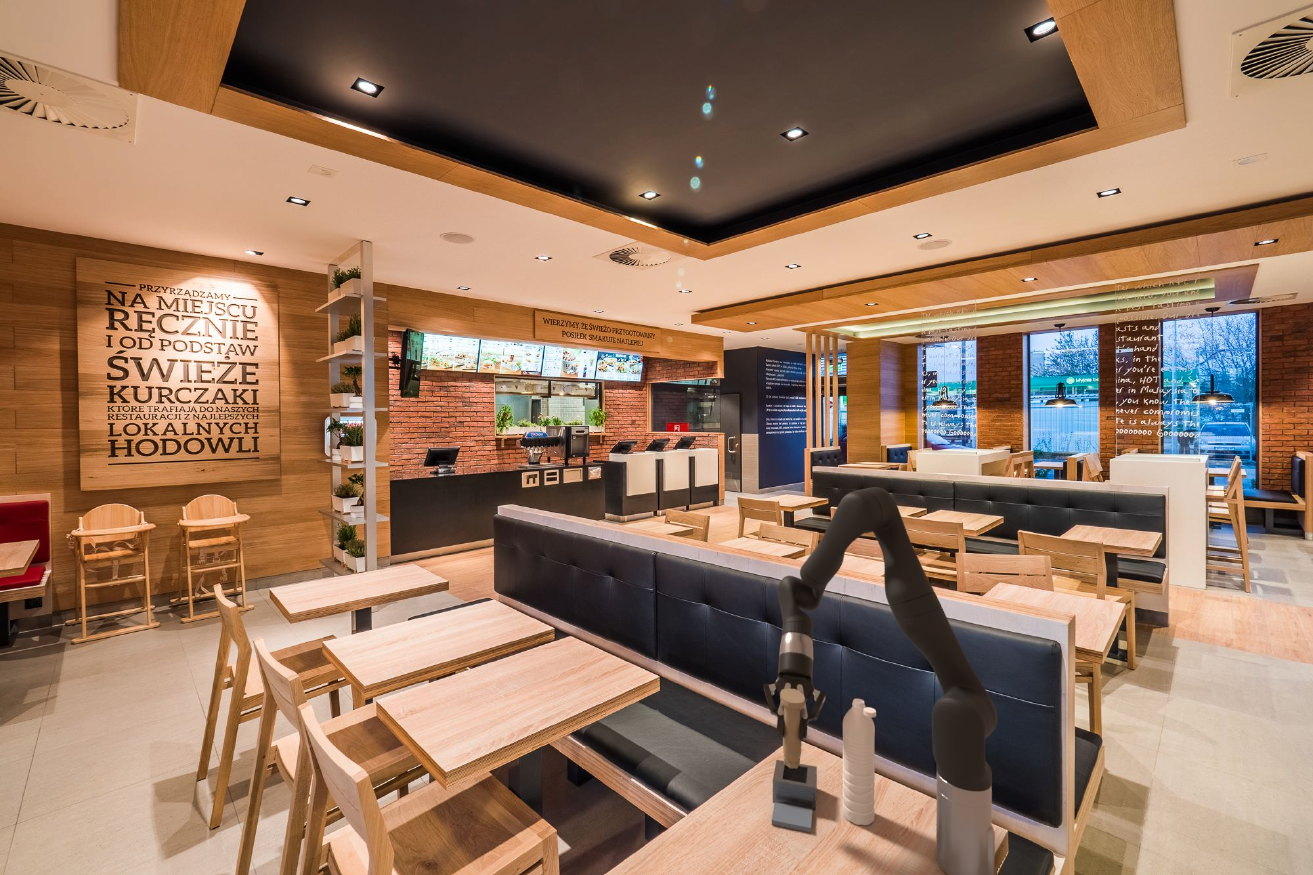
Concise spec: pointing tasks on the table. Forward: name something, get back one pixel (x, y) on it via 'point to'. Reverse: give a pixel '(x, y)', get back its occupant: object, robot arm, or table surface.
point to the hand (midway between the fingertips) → (791, 737)
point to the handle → (792, 726)
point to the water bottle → (858, 764)
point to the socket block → (795, 785)
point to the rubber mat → (792, 817)
